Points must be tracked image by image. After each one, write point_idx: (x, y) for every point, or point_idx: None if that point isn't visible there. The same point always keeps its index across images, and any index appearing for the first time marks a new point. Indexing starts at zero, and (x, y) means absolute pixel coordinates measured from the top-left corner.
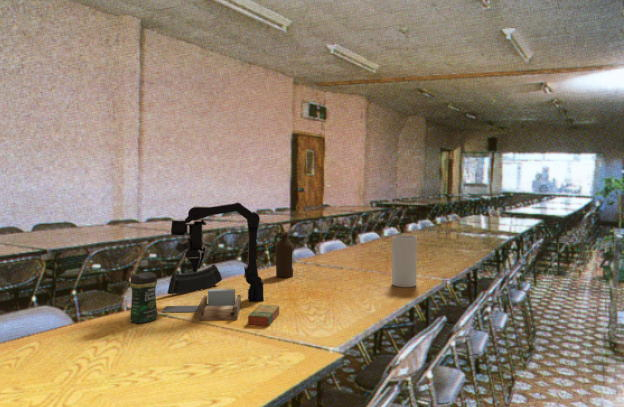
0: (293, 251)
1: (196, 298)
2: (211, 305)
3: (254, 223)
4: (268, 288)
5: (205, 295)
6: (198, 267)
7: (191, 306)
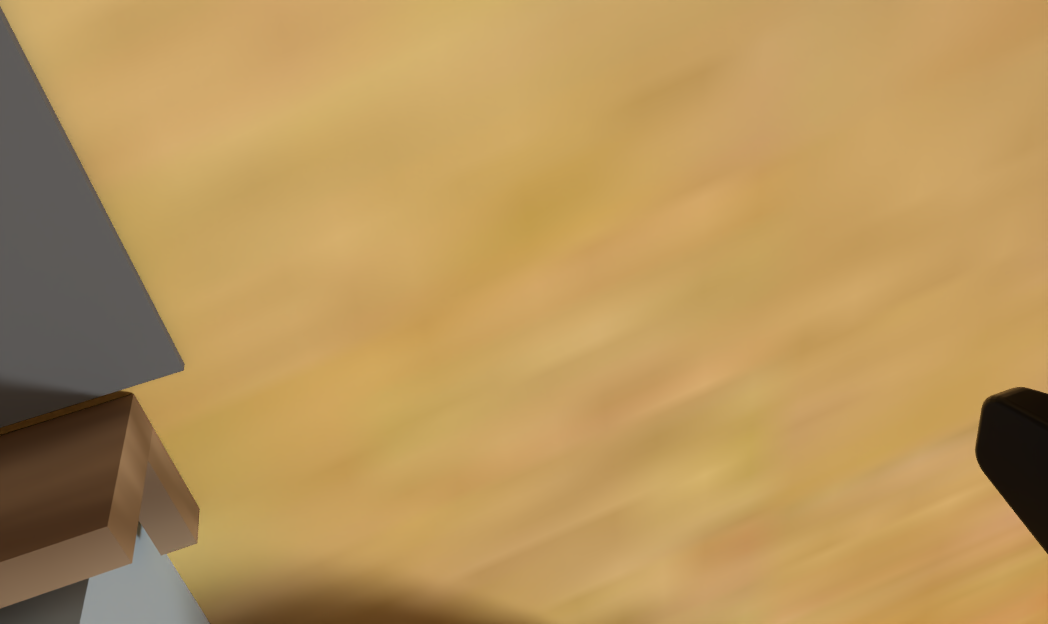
0: None
1: (623, 33)
2: None
3: None
4: (1019, 599)
5: (109, 542)
6: (1003, 452)
7: (28, 212)
